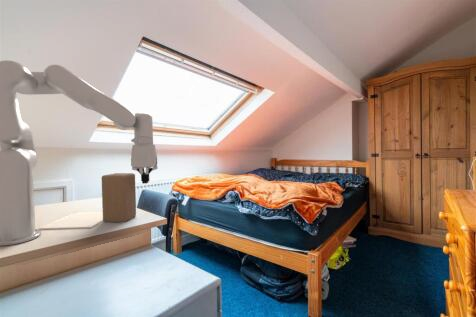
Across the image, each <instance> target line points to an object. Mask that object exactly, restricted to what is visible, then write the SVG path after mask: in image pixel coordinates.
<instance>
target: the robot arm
mask: <svg viewBox="0 0 476 317" xmlns="http://www.w3.org/2000/svg"><path fill="white" fill-rule="evenodd" d="M17 93H18V94H20V95H28V96H29V95H30V96H31V95H60V94H62V95H64V96H66V97H67V98H68V99H70V100H72V101H74V102H75V103H77V104H78V105H80V106H81V107H83V108H85V109H87V110H91V111H94V112H96V113H99V114H100V115H102V116H104V117H105V118H107V119H108V120H110V121H112V122H113V124H114V126H115V128H117V129H119V130H121V131H130V130H133V134H134V137H133V138H131V143H133V144H132V148H131V153H130V154H131V155H130V156H131V158H130V166H131V170H133V171H136V172H138V173H139V174H140V181H141V182H142V184H144V185H146V184H148V183H149V182H150V173H151V172H153V171H156V170H158V169H159V168H158V155H157V150H156V145H155V144H154V134H153V132H154V131H153V129H154V128H153V127H154V126H153V115H152V114H151V113H148V112H136V113H134V112H133V111H132V110H130V109H129V108H128V107H126V106H125V105H123V104H122V103H120V102H119V101H117V100H116V99H114V98H112V97H111V96H109V95H107V94H106V93H104V92H102V91H100V90H98V89H97V88H95V87H94V86H92V85H91V84H89V83H88V82H86V81H85V80H83V79H82V78H80V77H79V76H78V75H76V74H75V73H73V72H72V71H70V70H69V69H68V68H67V67H64V66H62V65H59V64H51V65H48V66H47V67H45V69H44V70H43V71H30V70H29V69H28V68H27V67H26V66H24V65H23V64H21V63H19V62H18V61H13V60H0V247H1V246H2V247H3V246H12V245H17V244H18V245H19V244H22V243H26V242H29V241H31V240H34V239H36V238H38V237H40V236H41V235H42V230H38V228H37V229H36V214H35V212H36V211H35V194H34V193H35V192H34V179H33V171H32V170H33V169H35V168H36V166H37V164H38V155H37V151H36V146H35V140H34V137H33V132H32V129H31V127H30V125H29V124H27V122H26V121H24V120H23V119H22V114H21V110H20V104H19V100H18V98H17Z"/></svg>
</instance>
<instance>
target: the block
mask: <svg viewBox="0 0 476 317" xmlns="http://www.w3.org/2000/svg"><path fill="white" fill-rule="evenodd" d="M136 193H137V192H136V174H135V173H133V172H130V173H126V172H125V173H124V172H122V173H121V172H120V173H119V172H118V173H117V172H116V173H109V174H105V175H102V176H101V199H102V200H101V201H102V203H101V204H102V212H103V222H104V223H126V222H127V221H129V220H131V219H132V218H135V217H136V216H137V201H136V200H137V197H136Z"/></svg>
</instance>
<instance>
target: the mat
mask: <svg viewBox="0 0 476 317" xmlns="http://www.w3.org/2000/svg"><path fill="white" fill-rule="evenodd" d="M103 222H104V221H103V211H85V212H83V211H82V212H78V211H77V212H72V213H69V215H66V216H63V217H60V218H59V219H56V220H54V221H52V222H49V223H47V224H45V225H42V226H39V227H38V228H37V229H38V230H41V231H43V230H73V229H79V230H80V229H93V228H95V227H97V226H98V225H100V224H102V223H103Z"/></svg>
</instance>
